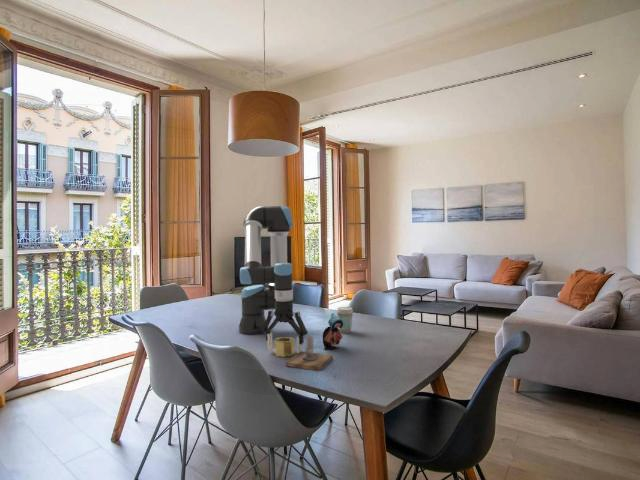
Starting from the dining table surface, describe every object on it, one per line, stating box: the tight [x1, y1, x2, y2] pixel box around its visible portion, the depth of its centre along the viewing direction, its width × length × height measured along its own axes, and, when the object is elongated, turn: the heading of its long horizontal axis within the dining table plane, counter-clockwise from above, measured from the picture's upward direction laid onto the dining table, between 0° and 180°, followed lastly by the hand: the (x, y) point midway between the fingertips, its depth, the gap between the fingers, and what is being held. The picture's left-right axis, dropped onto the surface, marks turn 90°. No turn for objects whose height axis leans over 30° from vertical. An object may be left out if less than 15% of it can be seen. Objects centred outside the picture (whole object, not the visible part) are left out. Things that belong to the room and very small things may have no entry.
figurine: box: [321, 313, 343, 351], centre depth 164 cm, size 10×7×15 cm
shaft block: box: [285, 336, 333, 372], centre depth 146 cm, size 14×14×10 cm
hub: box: [273, 336, 296, 358], centre depth 157 cm, size 8×8×6 cm
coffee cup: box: [336, 306, 354, 334], centre depth 190 cm, size 8×8×12 cm
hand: (284, 350), depth 156 cm, fingers open, 13 cm apart
